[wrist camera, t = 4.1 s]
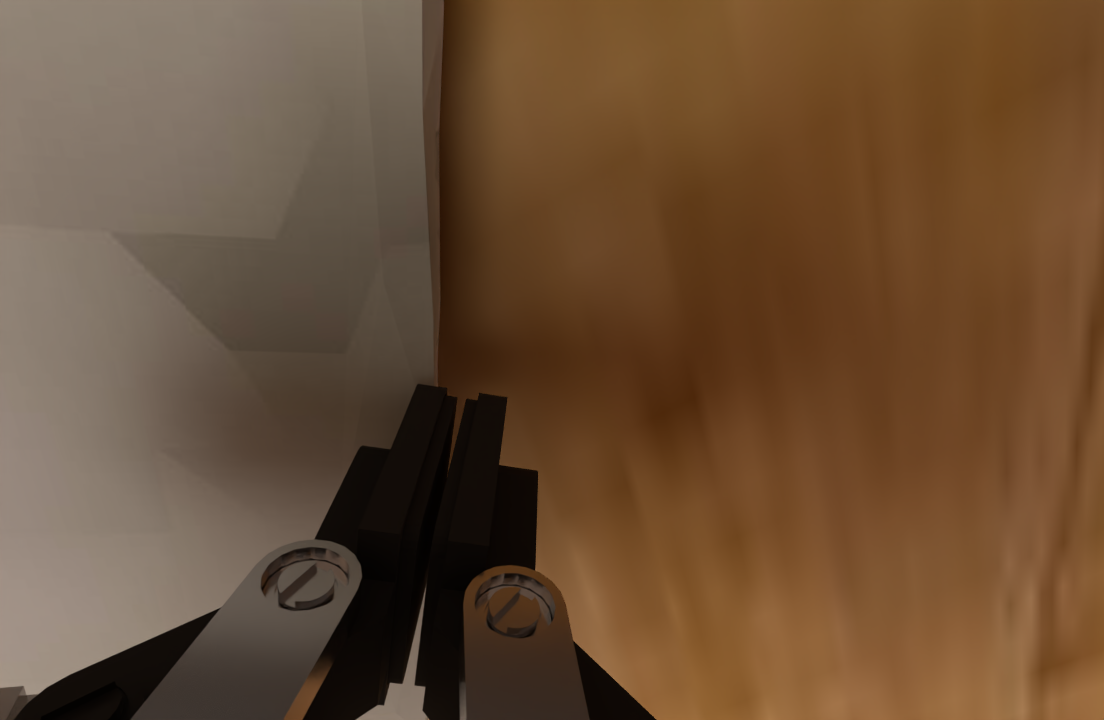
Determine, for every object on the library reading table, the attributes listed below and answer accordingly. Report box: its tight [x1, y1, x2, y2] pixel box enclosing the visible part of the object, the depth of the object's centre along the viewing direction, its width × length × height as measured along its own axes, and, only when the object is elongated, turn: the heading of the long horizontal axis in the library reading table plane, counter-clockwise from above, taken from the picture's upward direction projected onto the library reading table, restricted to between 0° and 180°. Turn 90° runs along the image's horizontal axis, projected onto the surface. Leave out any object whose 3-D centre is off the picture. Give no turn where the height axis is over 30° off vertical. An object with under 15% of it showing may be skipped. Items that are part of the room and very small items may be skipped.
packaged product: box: [0, 0, 444, 720], centre depth 13 cm, size 18×5×10 cm
